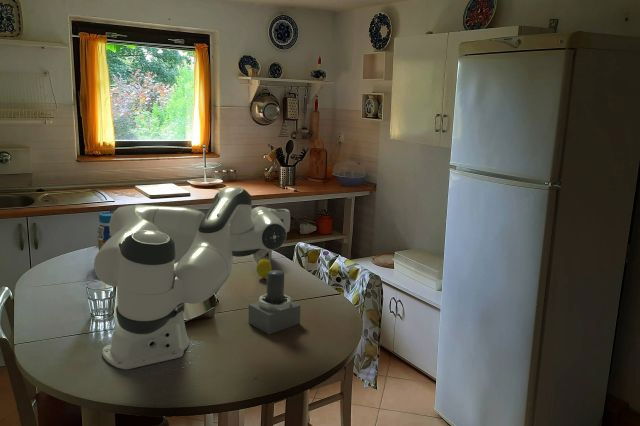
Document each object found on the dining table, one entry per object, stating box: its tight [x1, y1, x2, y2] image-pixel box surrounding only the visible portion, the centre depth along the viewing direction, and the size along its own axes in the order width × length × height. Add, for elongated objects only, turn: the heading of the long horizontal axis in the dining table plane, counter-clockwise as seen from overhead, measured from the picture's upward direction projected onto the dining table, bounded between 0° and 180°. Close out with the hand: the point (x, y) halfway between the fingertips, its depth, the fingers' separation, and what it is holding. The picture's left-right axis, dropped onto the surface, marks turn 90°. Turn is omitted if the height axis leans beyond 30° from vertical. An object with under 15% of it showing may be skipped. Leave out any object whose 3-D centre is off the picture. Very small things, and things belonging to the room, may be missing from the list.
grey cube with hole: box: [247, 293, 301, 335], centre depth 169 cm, size 12×10×8 cm
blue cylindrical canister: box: [97, 211, 115, 251], centre depth 214 cm, size 8×8×20 cm
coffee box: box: [252, 249, 273, 264], centre depth 228 cm, size 9×6×16 cm
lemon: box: [256, 258, 272, 280], centre depth 207 cm, size 6×6×8 cm
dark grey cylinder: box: [265, 269, 285, 304], centre depth 167 cm, size 5×5×10 cm
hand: (251, 211), depth 174 cm, fingers open, 8 cm apart
